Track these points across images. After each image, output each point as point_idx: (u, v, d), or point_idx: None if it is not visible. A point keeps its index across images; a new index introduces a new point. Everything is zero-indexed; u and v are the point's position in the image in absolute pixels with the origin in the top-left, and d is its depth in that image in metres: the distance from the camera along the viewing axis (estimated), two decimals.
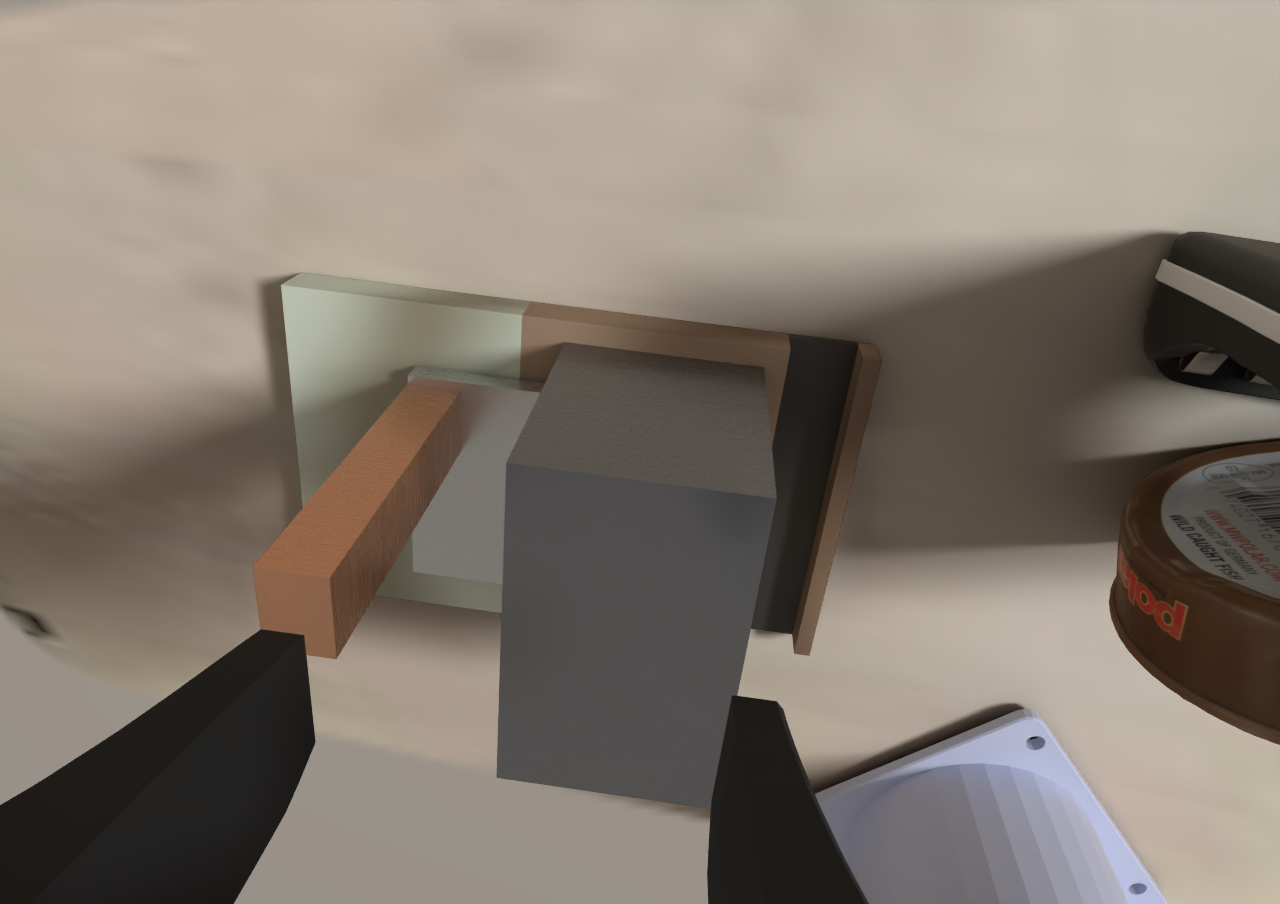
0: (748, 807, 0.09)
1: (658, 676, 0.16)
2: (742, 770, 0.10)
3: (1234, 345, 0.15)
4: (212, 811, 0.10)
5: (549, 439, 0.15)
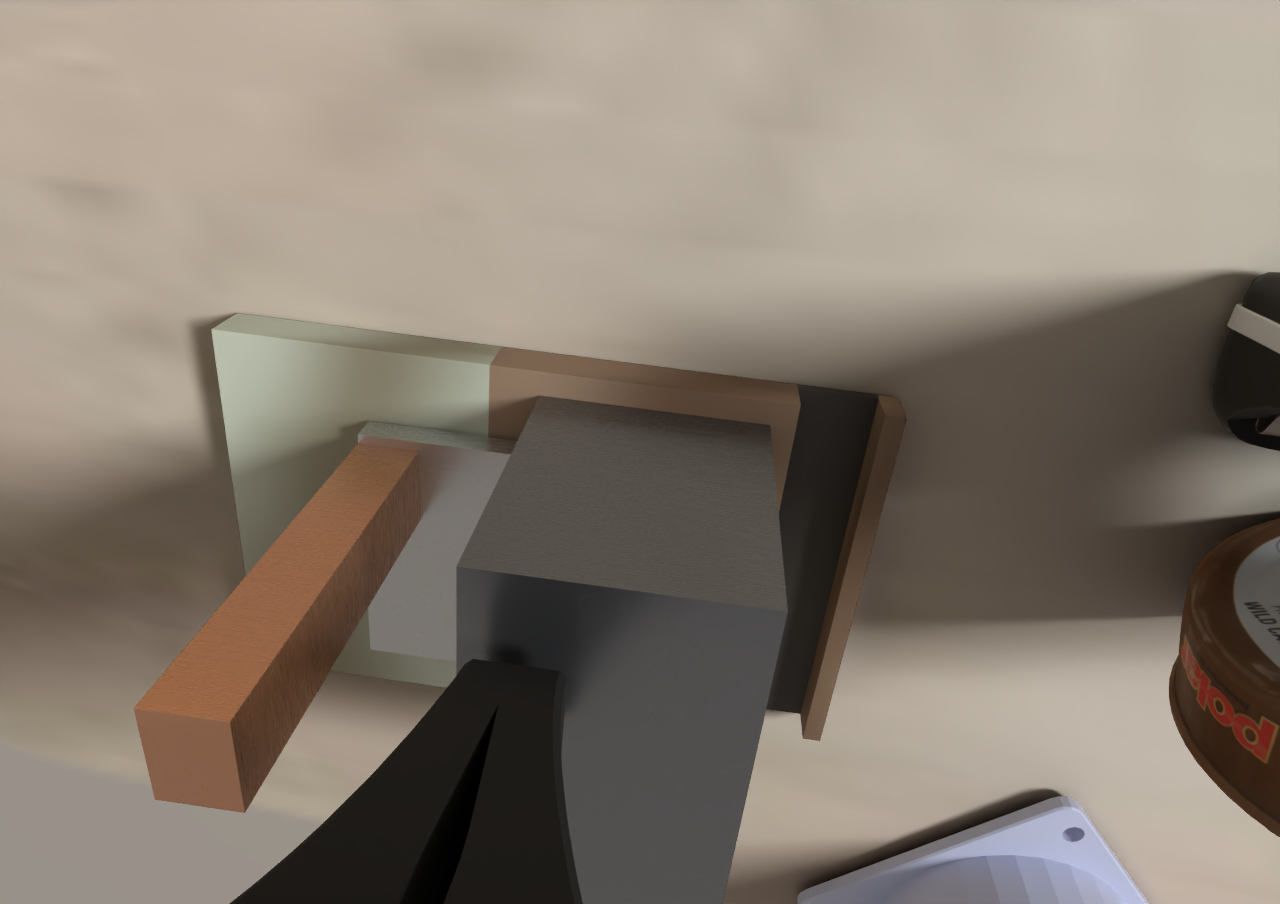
0: (483, 768, 0.09)
1: (645, 807, 0.14)
2: (491, 734, 0.10)
3: None
4: (459, 847, 0.10)
5: (512, 530, 0.13)
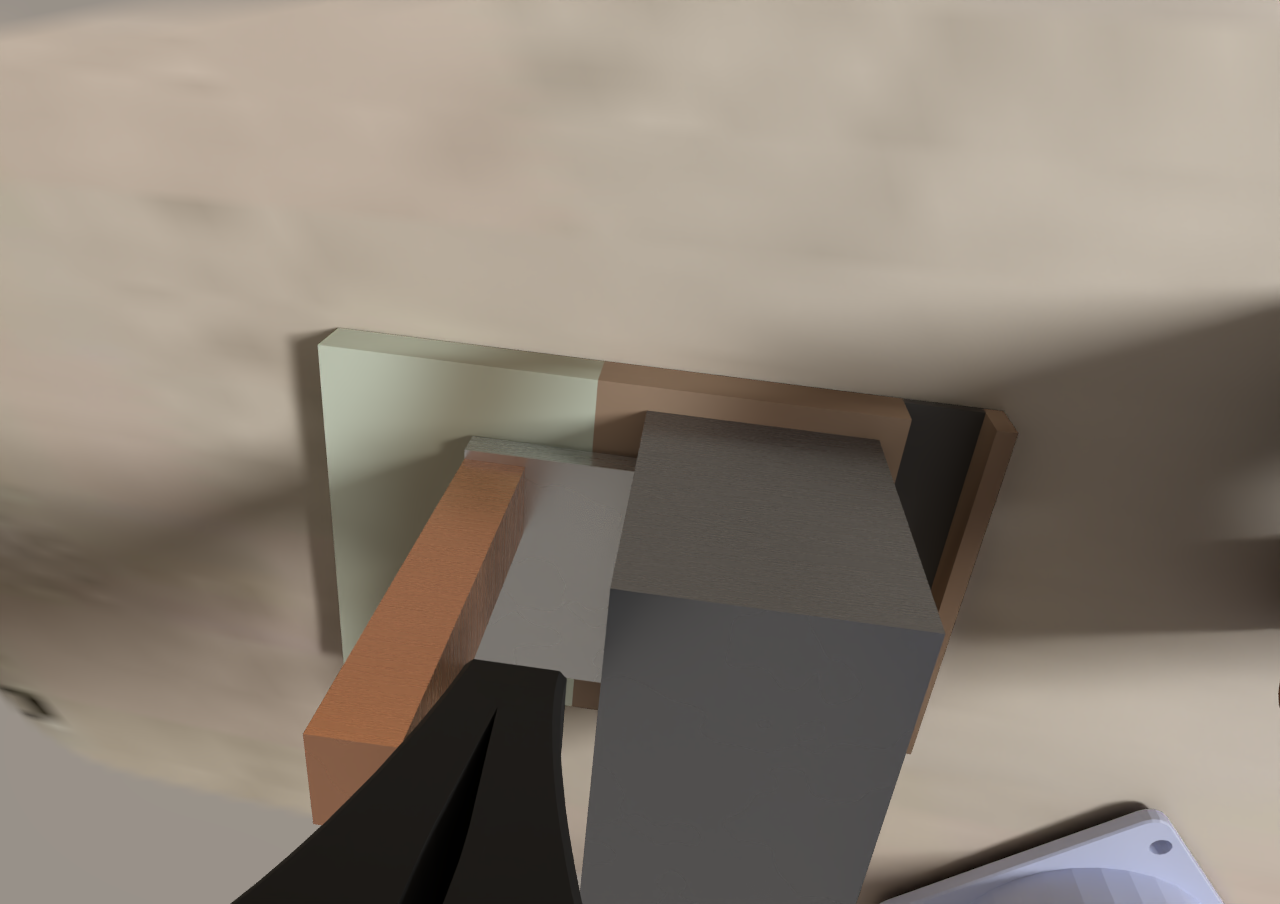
0: (483, 769, 0.09)
1: (779, 827, 0.13)
2: (491, 734, 0.10)
3: None
4: (460, 847, 0.10)
5: (655, 551, 0.13)
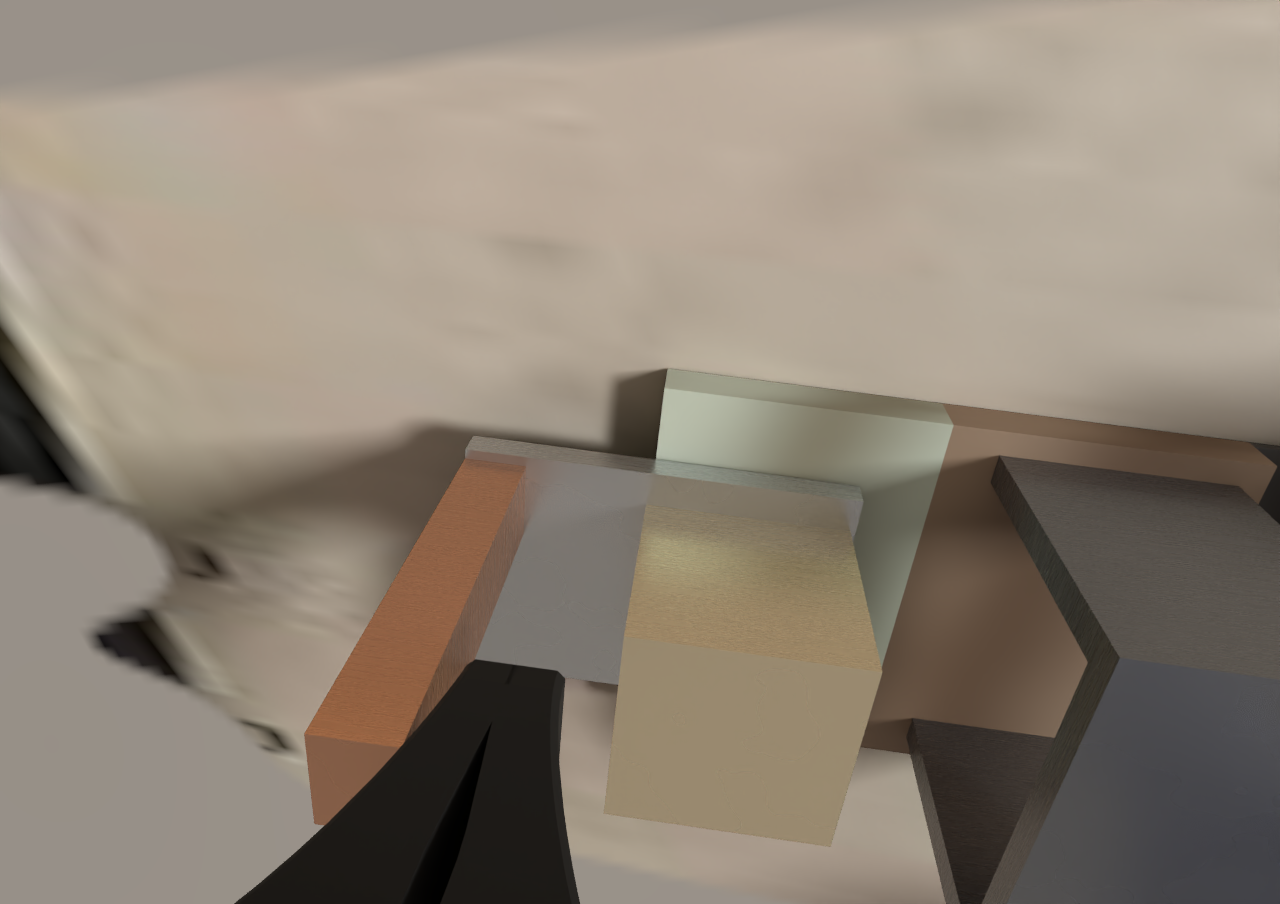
0: (481, 768, 0.09)
1: (1222, 892, 0.13)
2: (489, 734, 0.10)
3: None
4: None
5: (1129, 614, 0.12)
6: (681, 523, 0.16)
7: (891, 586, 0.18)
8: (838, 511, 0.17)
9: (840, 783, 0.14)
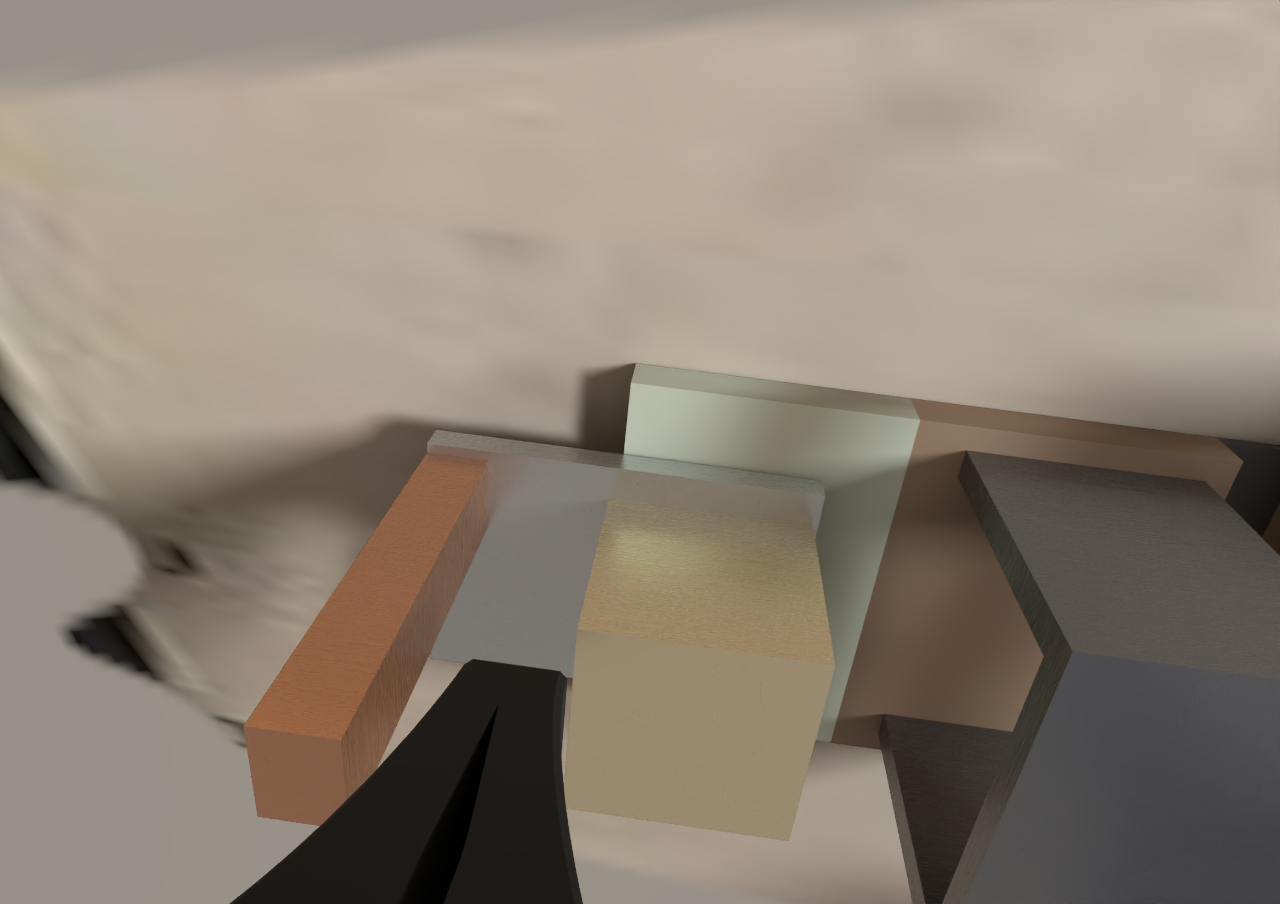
0: (483, 769, 0.09)
1: (1181, 886, 0.13)
2: (491, 734, 0.10)
3: None
4: (459, 847, 0.10)
5: (1085, 608, 0.12)
6: (643, 517, 0.16)
7: (860, 581, 0.18)
8: (800, 506, 0.17)
9: (796, 777, 0.14)
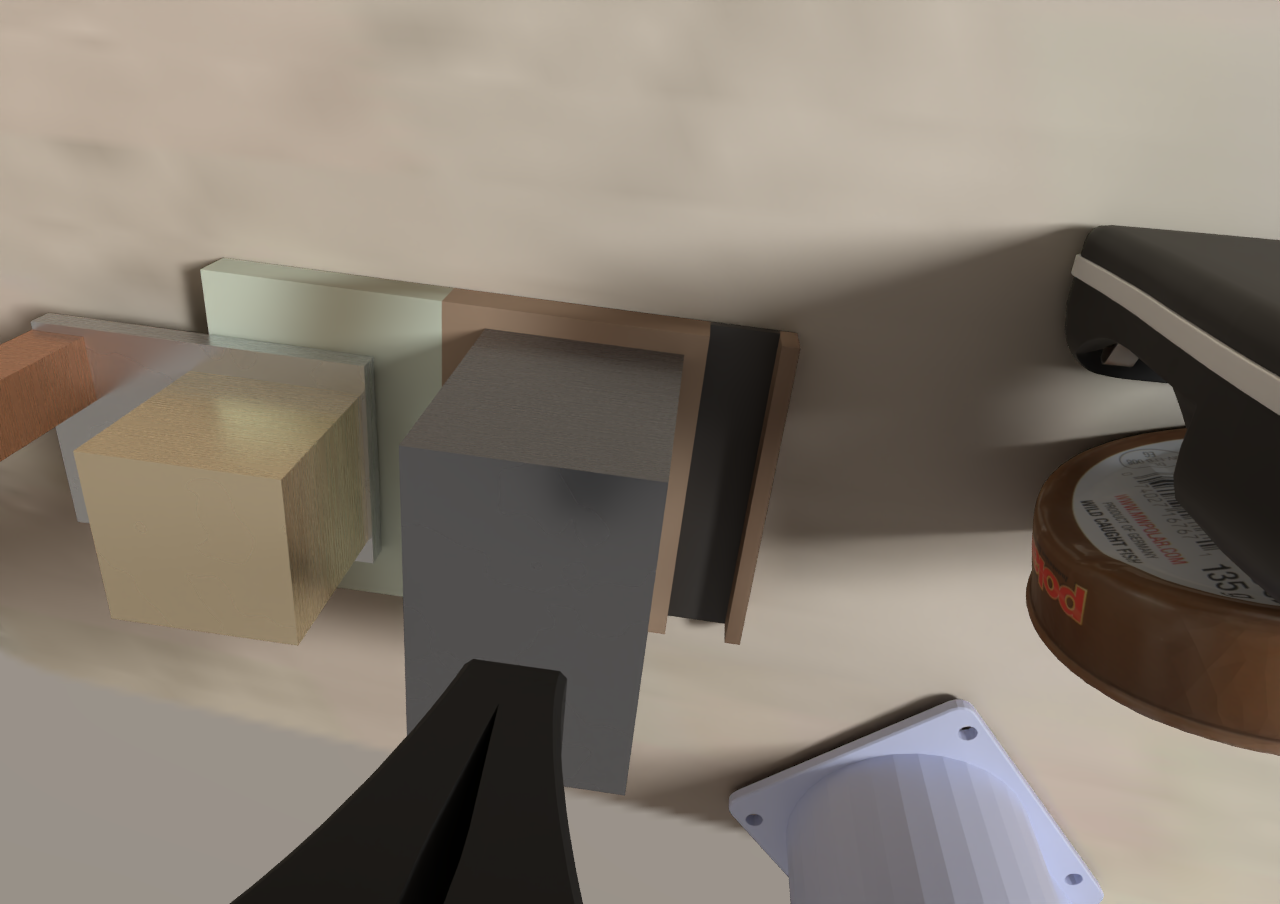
0: (483, 769, 0.09)
1: (562, 661, 0.16)
2: (491, 734, 0.10)
3: (1135, 340, 0.16)
4: (459, 847, 0.10)
5: (448, 423, 0.15)
6: (209, 383, 0.19)
7: None
8: (346, 375, 0.20)
9: (284, 584, 0.17)
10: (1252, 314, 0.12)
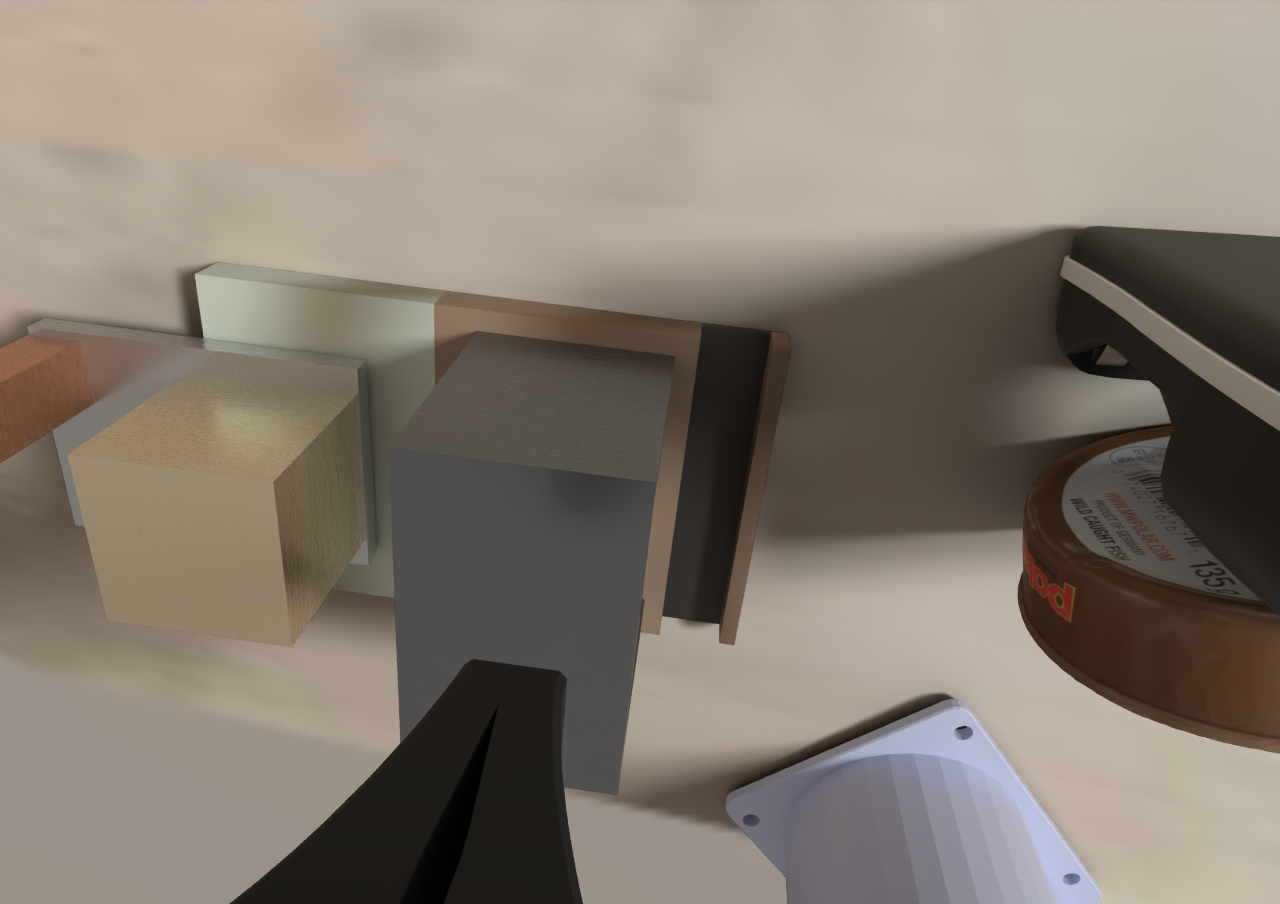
0: (483, 768, 0.09)
1: (553, 661, 0.16)
2: (491, 734, 0.10)
3: (1122, 341, 0.16)
4: (460, 847, 0.10)
5: (438, 424, 0.15)
6: (203, 387, 0.20)
7: None
8: (340, 378, 0.20)
9: (277, 586, 0.17)
10: (1231, 315, 0.12)
